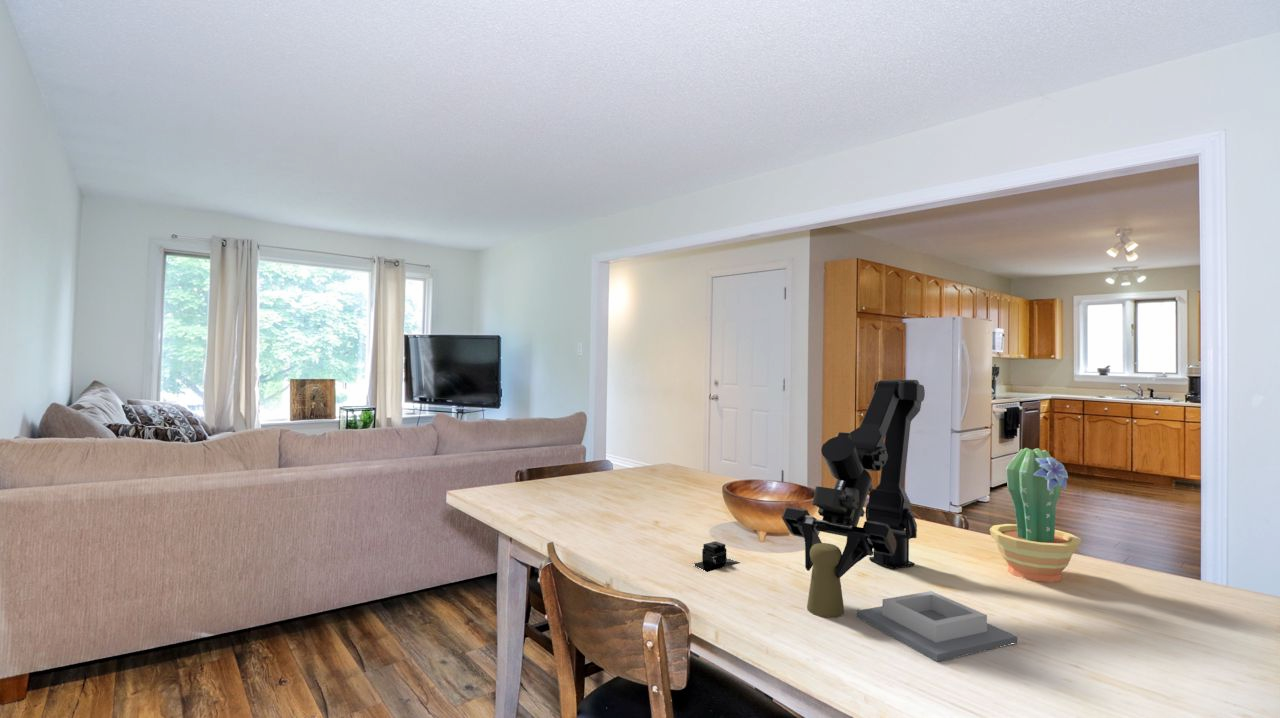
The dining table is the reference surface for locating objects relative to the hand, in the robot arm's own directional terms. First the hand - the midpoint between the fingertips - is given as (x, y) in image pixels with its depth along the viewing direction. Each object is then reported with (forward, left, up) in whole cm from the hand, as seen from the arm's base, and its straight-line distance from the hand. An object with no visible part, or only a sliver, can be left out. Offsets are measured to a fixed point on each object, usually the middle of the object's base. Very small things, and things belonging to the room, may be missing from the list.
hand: (822, 573), depth 100 cm
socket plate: (-12, +11, -7) cm, 18 cm away
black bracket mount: (+5, -28, -7) cm, 30 cm away
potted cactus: (-52, -1, -7) cm, 53 cm away
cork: (-1, -1, -7) cm, 7 cm away
